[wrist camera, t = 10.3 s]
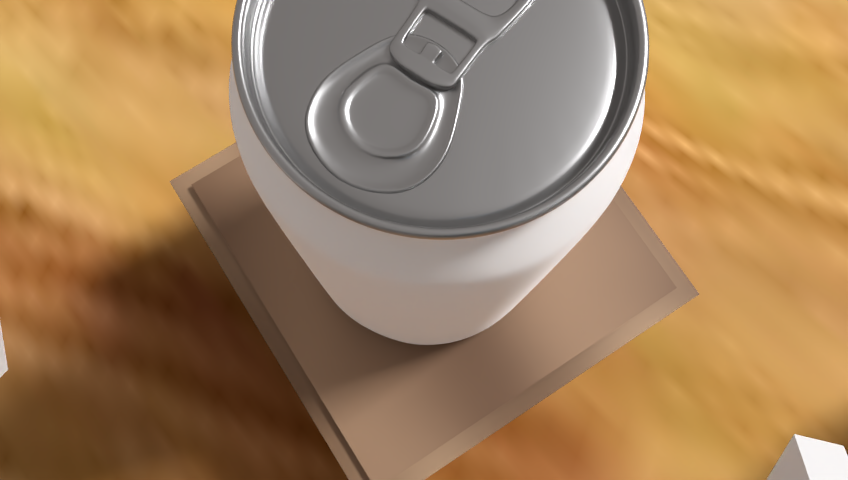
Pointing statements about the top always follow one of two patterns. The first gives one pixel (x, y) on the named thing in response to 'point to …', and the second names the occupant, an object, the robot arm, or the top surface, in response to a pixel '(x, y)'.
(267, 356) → the top surface
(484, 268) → the can
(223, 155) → the pedestal
